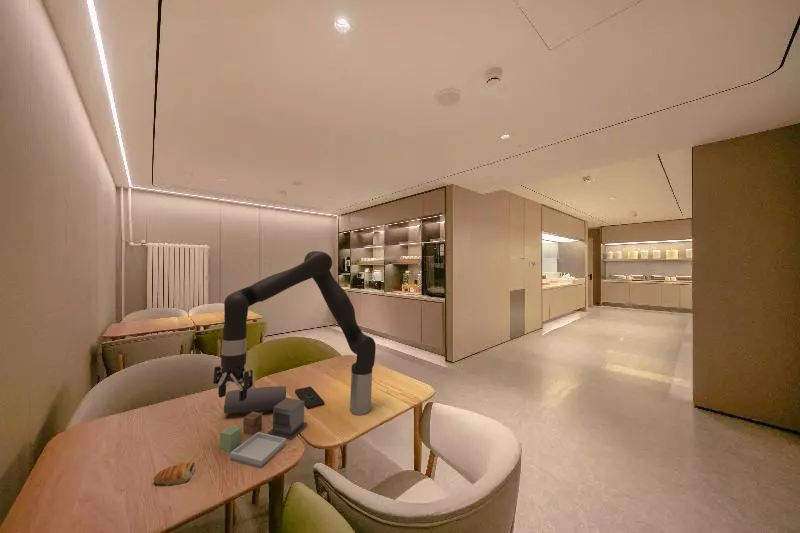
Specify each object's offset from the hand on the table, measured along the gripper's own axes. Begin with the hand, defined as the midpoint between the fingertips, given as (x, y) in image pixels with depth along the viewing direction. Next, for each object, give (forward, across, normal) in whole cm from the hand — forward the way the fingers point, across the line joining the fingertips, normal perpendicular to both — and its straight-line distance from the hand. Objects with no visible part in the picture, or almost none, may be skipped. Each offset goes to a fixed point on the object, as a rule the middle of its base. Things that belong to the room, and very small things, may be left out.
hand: (232, 398), depth 98 cm
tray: (+17, -11, -1) cm, 20 cm away
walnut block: (+17, 0, -10) cm, 20 cm away
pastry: (+17, +3, +16) cm, 24 cm away
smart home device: (+17, -5, -40) cm, 44 cm away
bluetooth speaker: (+17, +9, -22) cm, 29 cm away
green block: (+17, 0, 0) cm, 17 cm away
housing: (+17, -12, -15) cm, 26 cm away
